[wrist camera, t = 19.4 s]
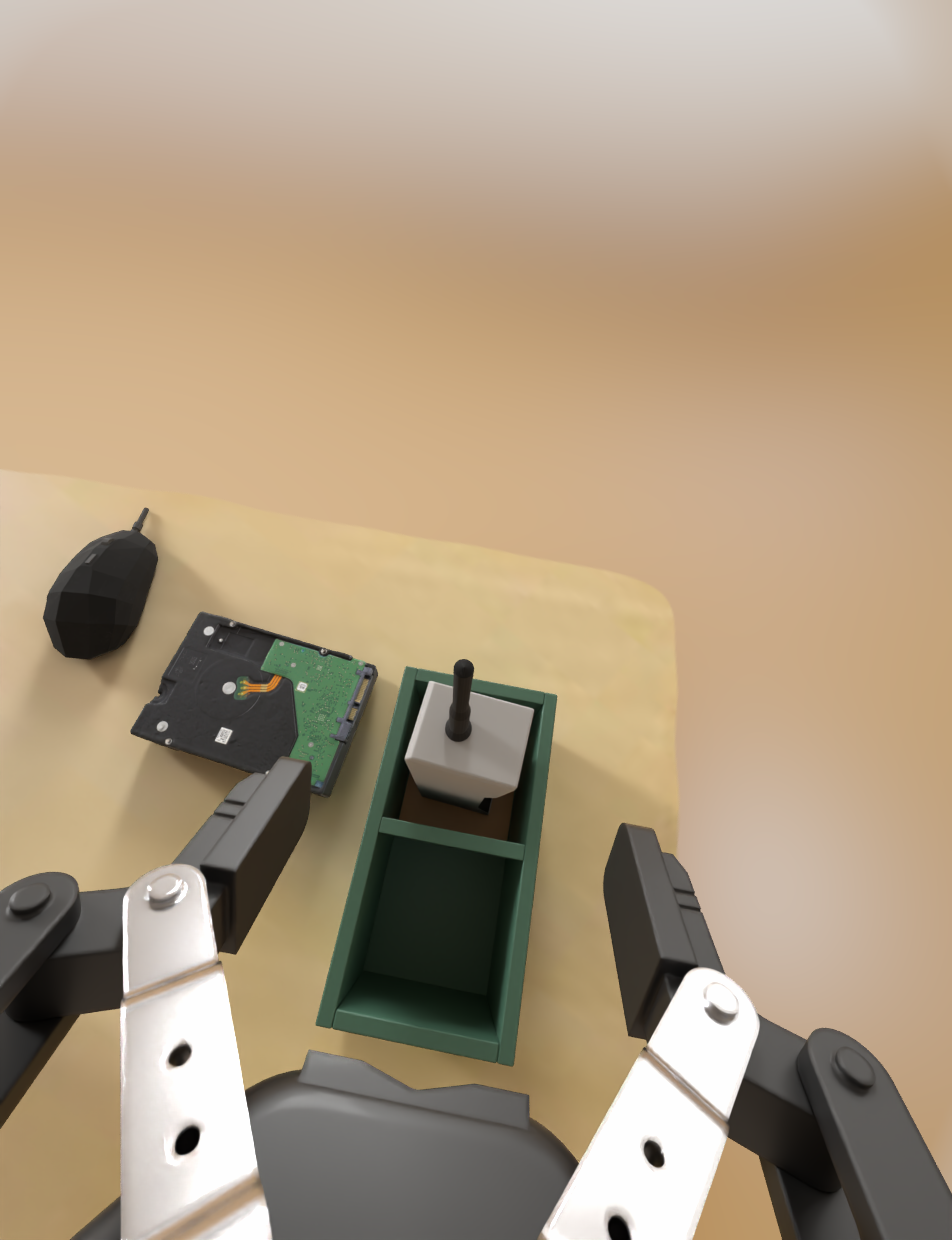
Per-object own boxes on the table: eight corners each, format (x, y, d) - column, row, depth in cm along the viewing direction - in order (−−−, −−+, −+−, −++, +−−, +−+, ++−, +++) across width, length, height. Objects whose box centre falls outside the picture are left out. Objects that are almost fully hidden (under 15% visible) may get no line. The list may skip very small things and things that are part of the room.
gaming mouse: (182, 513, 47) (160, 485, 44) (125, 666, 41) (94, 647, 37) (113, 507, 47) (85, 478, 43) (45, 659, 41) (6, 640, 37)
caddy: (349, 979, 33) (314, 1025, 24) (414, 706, 41) (405, 665, 32) (495, 1009, 33) (513, 1067, 24) (533, 729, 41) (557, 694, 32)
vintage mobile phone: (487, 815, 37) (553, 758, 14) (421, 796, 37) (380, 710, 14) (500, 764, 38) (577, 637, 16) (436, 746, 39) (420, 596, 16)
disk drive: (147, 743, 39) (332, 800, 38) (126, 736, 36) (323, 796, 35) (212, 623, 43) (381, 671, 42) (197, 608, 41) (376, 659, 39)
